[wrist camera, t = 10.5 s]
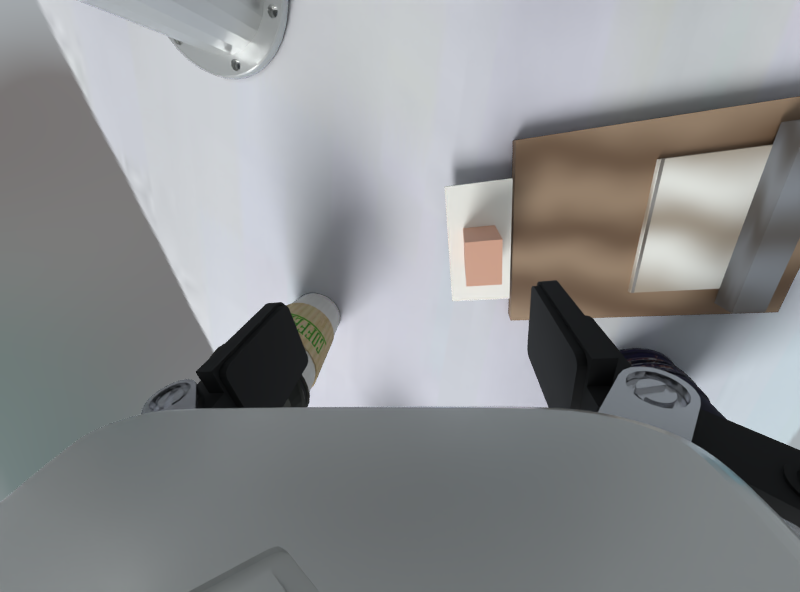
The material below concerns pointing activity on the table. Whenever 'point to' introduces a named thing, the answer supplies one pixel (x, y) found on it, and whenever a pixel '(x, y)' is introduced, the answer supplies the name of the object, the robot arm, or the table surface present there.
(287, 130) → the table surface
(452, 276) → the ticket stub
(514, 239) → the board
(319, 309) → the coffee cup
